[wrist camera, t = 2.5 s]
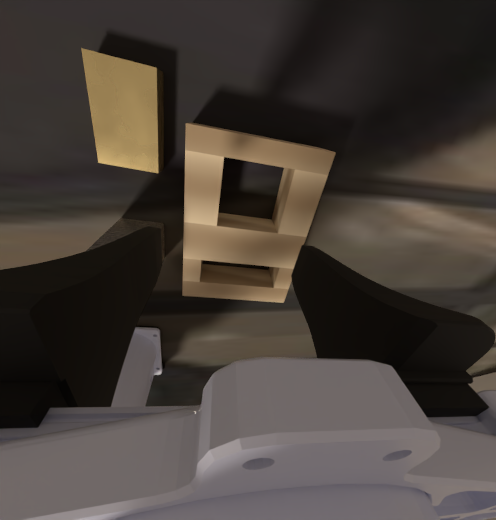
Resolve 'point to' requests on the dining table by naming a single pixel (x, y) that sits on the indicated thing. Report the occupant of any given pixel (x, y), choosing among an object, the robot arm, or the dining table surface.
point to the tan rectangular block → (126, 111)
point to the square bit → (127, 232)
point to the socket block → (244, 227)
